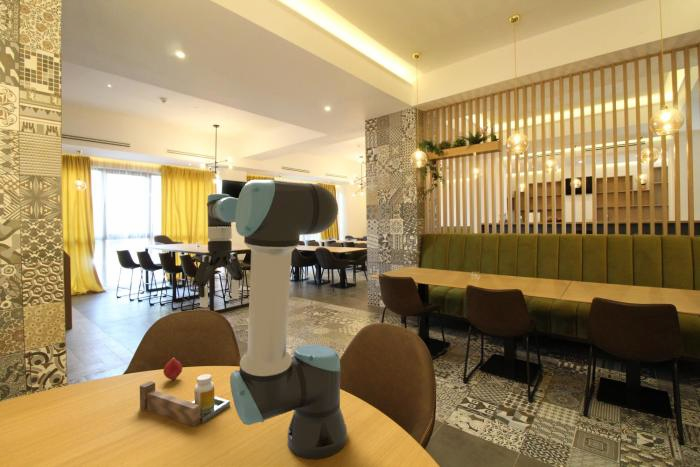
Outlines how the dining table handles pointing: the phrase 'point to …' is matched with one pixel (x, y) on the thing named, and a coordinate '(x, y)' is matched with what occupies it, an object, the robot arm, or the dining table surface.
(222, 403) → the socket
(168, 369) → the onion
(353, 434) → the dining table surface
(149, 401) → the door edge rail
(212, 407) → the supplement bottle
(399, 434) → the dining table surface
